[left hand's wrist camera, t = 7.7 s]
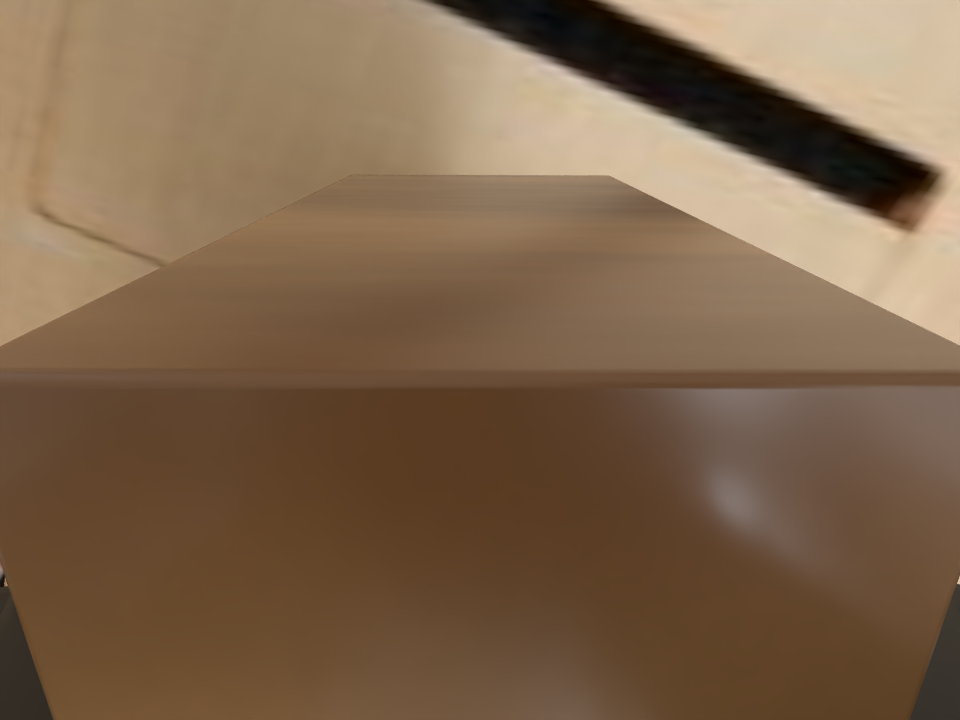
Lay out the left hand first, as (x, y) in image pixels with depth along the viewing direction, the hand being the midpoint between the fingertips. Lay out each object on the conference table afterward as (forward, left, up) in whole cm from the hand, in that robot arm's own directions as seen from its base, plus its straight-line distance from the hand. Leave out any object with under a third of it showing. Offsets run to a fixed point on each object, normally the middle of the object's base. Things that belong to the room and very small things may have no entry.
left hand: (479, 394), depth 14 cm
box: (+4, +7, -3) cm, 9 cm away
